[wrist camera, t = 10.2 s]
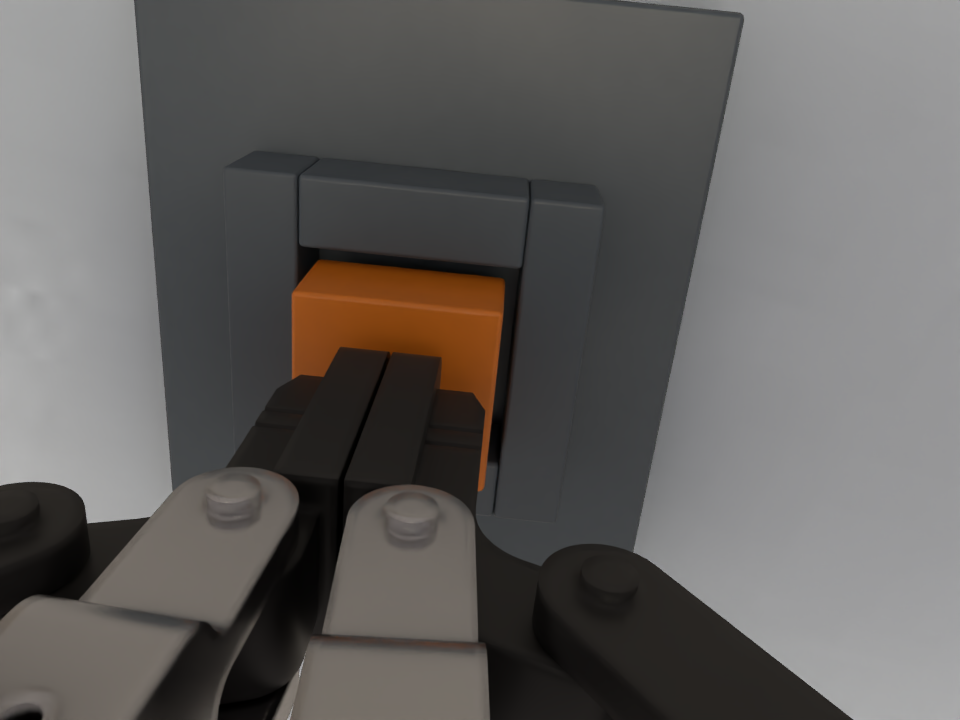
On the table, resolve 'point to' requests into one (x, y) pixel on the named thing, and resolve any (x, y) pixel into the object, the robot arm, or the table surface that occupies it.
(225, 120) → the keypad
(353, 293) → the key
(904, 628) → the table surface
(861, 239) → the table surface
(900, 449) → the table surface
